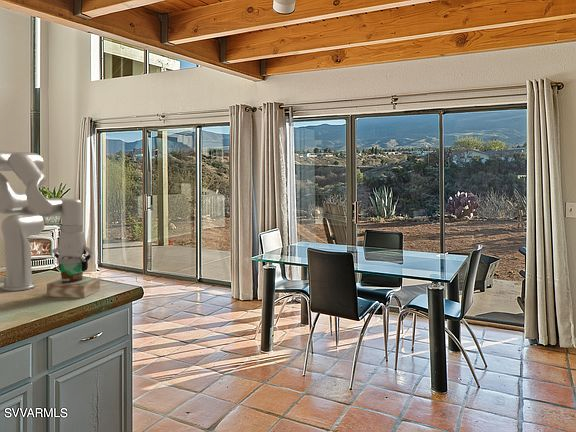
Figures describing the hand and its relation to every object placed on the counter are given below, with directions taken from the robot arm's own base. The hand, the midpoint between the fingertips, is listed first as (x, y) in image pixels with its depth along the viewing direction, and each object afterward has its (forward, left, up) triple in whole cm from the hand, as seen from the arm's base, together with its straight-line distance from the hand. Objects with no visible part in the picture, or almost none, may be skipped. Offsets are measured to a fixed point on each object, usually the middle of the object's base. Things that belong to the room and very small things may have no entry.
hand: (73, 270), depth 191 cm
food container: (+1, 0, -4) cm, 5 cm away
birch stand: (0, 0, -10) cm, 10 cm away
